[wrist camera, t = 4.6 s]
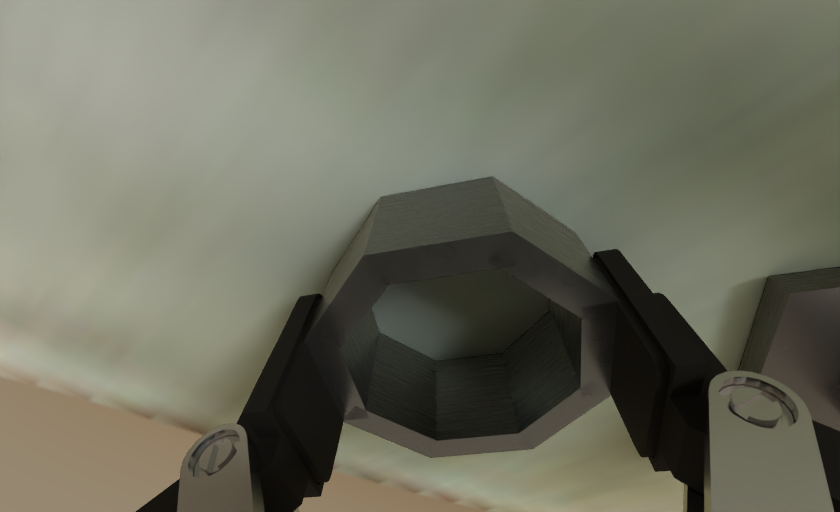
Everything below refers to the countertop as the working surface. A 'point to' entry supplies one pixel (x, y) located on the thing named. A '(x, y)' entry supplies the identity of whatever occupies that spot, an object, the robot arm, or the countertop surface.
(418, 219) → the ring
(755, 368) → the grey peg base
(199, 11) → the countertop surface
